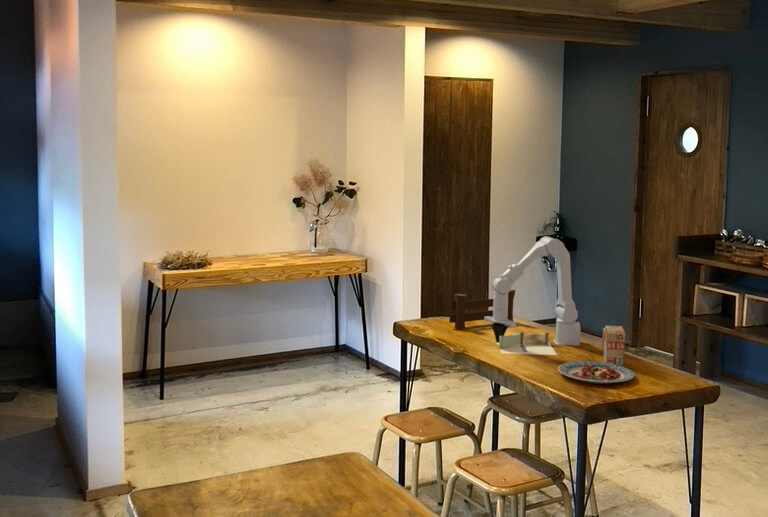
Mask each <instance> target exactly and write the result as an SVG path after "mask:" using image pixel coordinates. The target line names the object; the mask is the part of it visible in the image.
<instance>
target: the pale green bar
mask: <svg viewBox="0 0 768 517" xmlns="http://www.w3.org/2000/svg"><path fill="white" fill-rule="evenodd" d="M520 338H521V334H519V332H518V333H515V334H510V335H506V336H505V335H504V336H500V337H499V346H498V348H499V349H500V348H505V347H509V346H513V345H517V344H520Z"/></svg>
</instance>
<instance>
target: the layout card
mask: <svg viewBox="0 0 768 517" xmlns="http://www.w3.org/2000/svg"><path fill="white" fill-rule="evenodd" d="M496 344H497V346H498V347H499V343H498V342H496ZM499 350H500V353H501V355H502V354H509V355H543V356H545V355H547V356H549V355H550V356H558V353H557V352H556V351H555V349H554V348H553V347H552V345H551V344H550V342H549V341H548V345H545V344H524V341H523V344H517V345H513V346H509V347H505V348H499Z"/></svg>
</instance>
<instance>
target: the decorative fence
mask: <svg viewBox="0 0 768 517" xmlns="http://www.w3.org/2000/svg"><path fill="white" fill-rule="evenodd" d="M516 290H517V289H511V290H510V291H509V292H508V316H507V319H508V320H511V321H514V316H513V315H514V314H513V313H514V299H515V295H516ZM467 298H468V295H467V294H463V293H454V300H453V301H452V300H451V301H449V310H455V313H450V314H449V321H448V323H449V324H454V326H453V328H454V329H455V330H461V331H462V330H465V329H466V324H465V322H466V323H467V322H476V321H484V317H485V316H490V317H493V309H492V310H491V309H490V310H479V311H472V312H471V311H469V312H465V310H470V309H472V310H474V309H482V308H484V309H485V308H493V300H494V298H487V299H477V300H475V299H474V300H467Z"/></svg>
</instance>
